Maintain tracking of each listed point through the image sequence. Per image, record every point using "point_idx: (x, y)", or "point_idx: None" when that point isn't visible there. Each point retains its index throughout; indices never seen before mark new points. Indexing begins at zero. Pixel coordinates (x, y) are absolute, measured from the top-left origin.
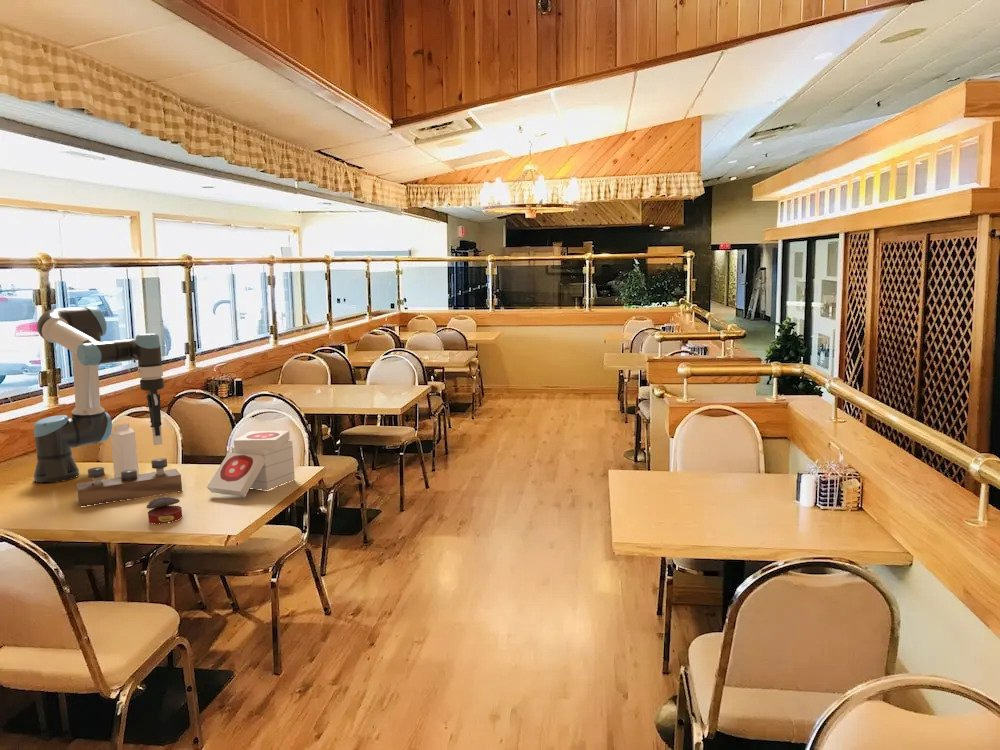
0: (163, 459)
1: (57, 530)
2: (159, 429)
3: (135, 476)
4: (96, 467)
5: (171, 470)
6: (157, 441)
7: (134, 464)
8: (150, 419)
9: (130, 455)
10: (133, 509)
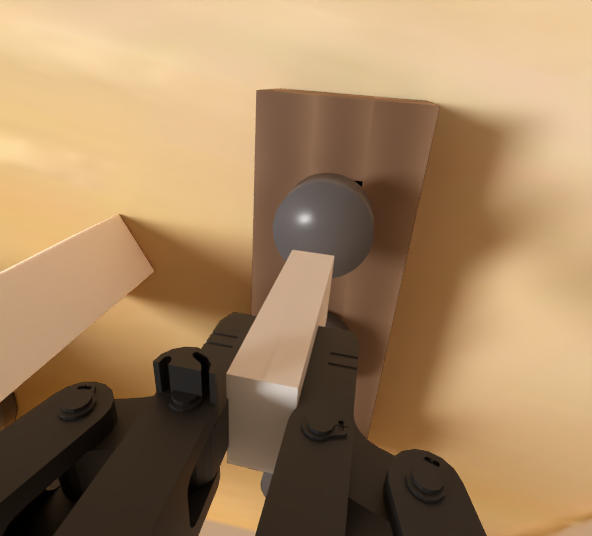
0: (325, 205)
1: (557, 531)
2: (353, 389)
3: (343, 328)
4: (262, 480)
5: (283, 126)
6: (324, 311)
7: (75, 259)
8: (52, 518)
9: (47, 298)
10: (540, 343)
